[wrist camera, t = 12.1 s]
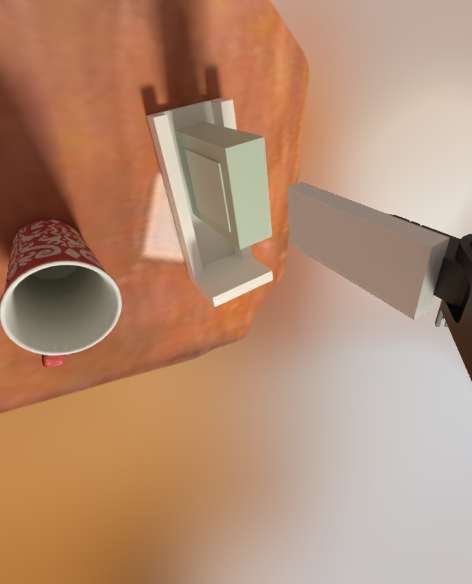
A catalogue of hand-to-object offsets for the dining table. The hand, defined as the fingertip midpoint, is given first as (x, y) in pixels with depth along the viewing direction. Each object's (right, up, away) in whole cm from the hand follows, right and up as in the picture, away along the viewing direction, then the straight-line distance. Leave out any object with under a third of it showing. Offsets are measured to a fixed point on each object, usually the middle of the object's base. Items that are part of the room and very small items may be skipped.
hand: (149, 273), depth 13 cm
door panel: (-1, +14, +29) cm, 32 cm away
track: (-1, +12, +31) cm, 33 cm away
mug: (-18, +3, +26) cm, 31 cm away
